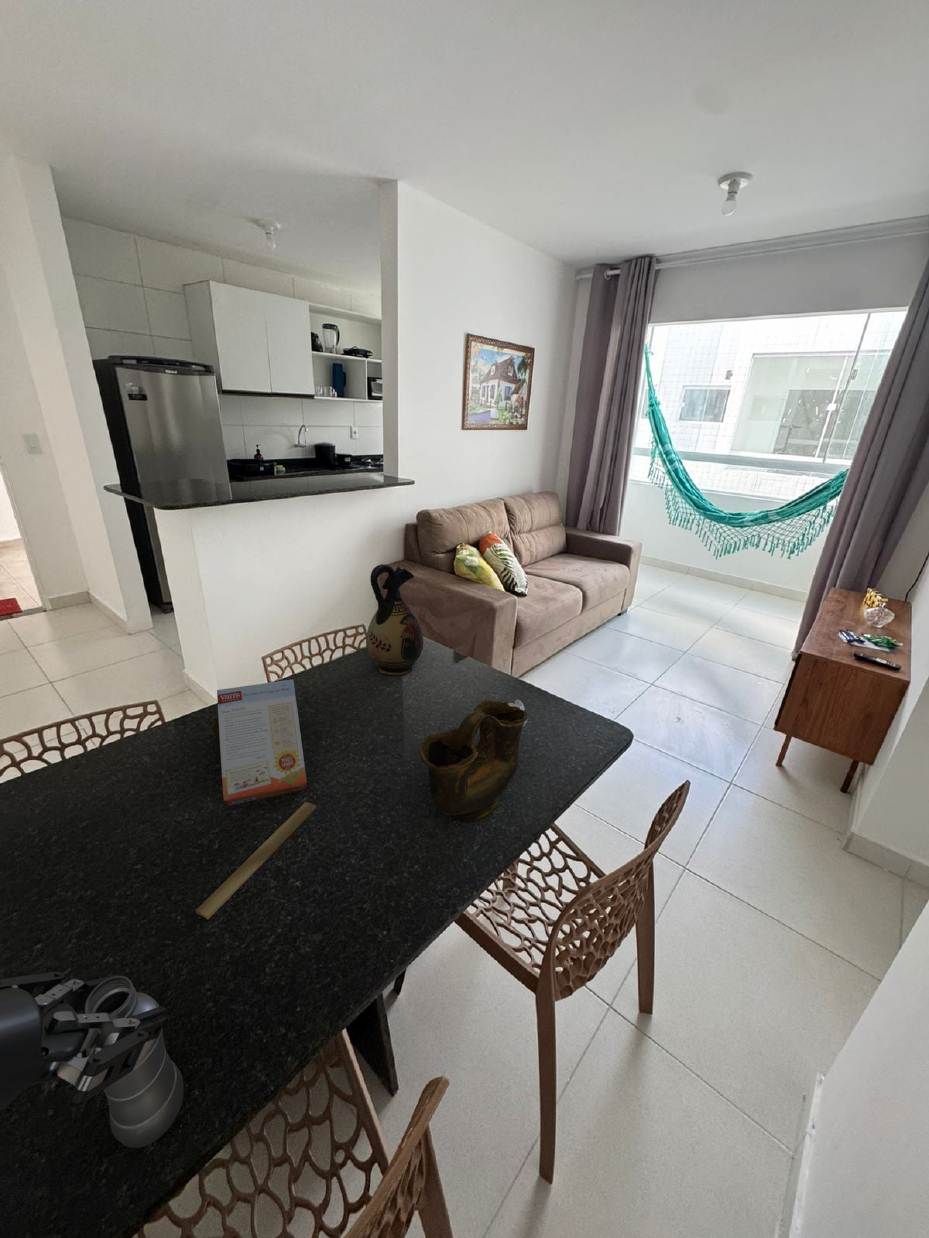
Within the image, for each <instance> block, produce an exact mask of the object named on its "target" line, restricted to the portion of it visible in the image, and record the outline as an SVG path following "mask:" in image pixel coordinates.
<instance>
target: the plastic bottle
mask: <svg viewBox="0 0 929 1238" xmlns="http://www.w3.org/2000/svg"><path fill="white" fill-rule="evenodd" d="M157 1007H160V1005H159V1003H158V1001H156V1000H155V999H154V998H153V997H152V996H150V995H149V994H147V993H144V992H140V991H139V992H138V991H137V990H136V988H135V987H134V985H133V982H132V980H131V979H130V978H129V977H127V976H124V975H117V976H114V977H111V978H109V979H107V980H105V981H103V982H102V983H100V984H99V985H98V986H97V987H96V988H95V989H94V990H93V991H92V992H91V993H90V995H89V997H88V998H87V1001H86V1004H85V1011H84V1014H89V1013H109V1014H110V1016H111V1019H118V1018H132V1016H134V1015H137V1014H140V1013H143V1012H146V1011H149V1010H151V1009H154V1008H157ZM163 1028H164V1027H163ZM163 1028H162V1030H161V1032H160V1034H159V1036H158V1037H157V1038H155V1039H153V1040H151V1041H147V1042H146V1043H145V1045H144V1047H143V1049H142V1051H141V1054H140V1056H139V1058H138V1060H137V1062H136V1065H135V1067H134V1069H133V1071H132V1072H130V1073H129V1074H127V1075H126V1076H124V1077H122V1078H121V1079H119V1080H118V1081H116V1082H115V1083H113V1084H112V1085H110V1086H109V1087H107V1088H106V1089H104V1090H103V1092H104V1093H103V1094H105V1096H106V1099H107V1105H108V1108H109V1109H108V1111H109V1125H110V1128H111V1132H112V1135H113V1136H114V1138H115V1139H116V1140H117V1141H118V1142H120V1143H121V1144H122V1145H123V1146H124V1147H127V1148H130V1149H139V1148H144V1147H146V1146H149V1145H151V1144H153V1143H154V1142H156V1141H158V1140H159V1139H160V1138H161V1137H162V1136H163V1135H164V1134H165V1133H166V1132H167V1131H168V1130H169V1129H170V1128H171V1127H172V1125H173V1123H174V1122H175V1121H176V1119H177V1117H178V1115H179V1113H180V1111H181V1108H182V1105H183V1100H184V1088H185V1087H184V1086H185V1085H184V1078H183V1077H184V1076H183V1074H182V1072H181V1070H180V1069H179V1067H178V1066H177V1064H176V1063H175V1062H174V1061H173V1060H172V1059H171V1056H170V1055H169V1053H168V1052H167V1050H166V1044H165V1041H164V1031H163ZM93 1031H94V1029H89V1033H88V1035H87V1037H86V1039H85V1041H84V1044H83V1046H82V1048H81V1050H80V1052H82V1051H83V1050H84V1049H85V1048H86V1046H87V1044H88V1042H89V1040H90V1038H91V1036H92V1034H93ZM118 1035H119V1033H112V1034H110V1035H109V1036H108V1037H107V1039H106V1041H105V1043H104V1045H111V1044H113V1043H115V1041H116V1039H117V1037H118Z"/></svg>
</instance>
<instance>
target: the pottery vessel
mask: <svg viewBox="0 0 929 1238" xmlns="http://www.w3.org/2000/svg"><path fill="white" fill-rule="evenodd" d="M508 703H509V702H508V701H504V702H502V701H494V700H491V699H489V700H488V699H487V700H486V699H485V700H483V701H482V702H479V703H478V704H477V705H476V706H475V707H474V708H473V711H472V712H470V713H469V714H467V715H466V717H465V718H464V719H463V720H462V721H461V723H460V725H459V726H458V727H455V728H452V729H450V730H448V731H444V732H440V733H434V734H431V735H427V736H425V737H424V738H423V740H422V741H421V742H420V743H418V745H417V746H418V751H417V753H418V755H419V757H420V761H421V762H422V763H423V764H424V765H425V766H426V767H427V768H428V778H429V779H428V781H429V782H428V786H429V790H430V794H431V799H433V801H434V804H435V805H436V807H437V808H438V809H439V811H440V812H441V813H443V814H444V815H446V816H451V817H452V816H453V817H455V818H457V819H459V821H461V822H465V823H467V822H468V823H469V822H478V821H481V820H483V819H485V818H487V817H488V816H490V815H492V813H493V812H494V811H495V810H497V808H498V806H499V805H500V796H501V795H502V794H503V792H504V791H505V790H506V789H507V787H508V785H509V784H510V783H511V780H512V779H513V777H514V776H515V774H516V773H517V770H518V768H519V746H520V741H521V736H522V730H523V728H524V727H523V724H524V722H525V721H526V720H527V721H528V716H529V713H528V711H527V710H525V711H524V710H521V709H520V707H515V706H509V705H508ZM478 730H479V741H478V742H477V744H476V745H475V743H474V742H475V737H476V735H477V734H478Z"/></svg>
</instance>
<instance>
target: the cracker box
mask: <svg viewBox="0 0 929 1238" xmlns="http://www.w3.org/2000/svg"><path fill="white" fill-rule="evenodd" d="M216 697H217V698H216V700H217V714H218V715H217V716H218V719H219V735H220V745H219V750H220V751H219V752H220V767H221V780H222V781H221V782H222V784H221V785H222V796H223V801H224V803H225V804H226V805H227V807H230V806H234V805H239V804H243V803H248V802H253V801H257V800H262V799H267V798H271V797H275V796H280V795H283V794H284V795H285V794H289V793H294V792H298V791H303V790H306V789H307V783H308V781H307V775H306V774H307V773H306V766H305V759H304V750H303V743H302V736H301V727H300V719H299V712H298V704H297V698H296V690H295V682H294V679H285V680H278V681H277V680H276V681H270V682H264V683H258V684H249V685H243V686H236V687H229V688H221V689H216Z"/></svg>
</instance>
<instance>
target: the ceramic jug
mask: <svg viewBox="0 0 929 1238" xmlns="http://www.w3.org/2000/svg"><path fill="white" fill-rule="evenodd" d="M384 573H387V577H386V578H385V580H384V582H383V584H382V586H381V588H382V589H383V590H386V594H385V597H384V596H383V594H382V591H381V588H380V584H379V577H380V576H381V575H383V574H384ZM369 577H370V586H371V588H372V591H373V594H374V597H375V601H376V602H377V610H376V611H375V613H374V614H373V616H372V618H371V620H370V622H369V625H368V628H367V630H366V631H367V632H366V637H365V647H366V652H367V655H368V656H369V658H370V660H371V661H372V662H373V663H374V664H376V666H377V667H378V671H379V673H382V674H385V675H388V676H403V675H407V674H410V673H412V672H413V668H414V667H413V666H414V665H415V664H416V662H417V661H418V660H419V658H420V657H421V655H422V652H423V649H424V635H423V631H422V627H421V624H420V622H419V620H418V617H416V615H415V613H414V612H413V611H412V609H411V608H410V606H409V605H408V604H407V602H405V600H404V598H402V596H401V591H400V588H401V587H402V586H403V585H404V584H405V583H406V582H408V581H411V580H412V579H414V577H415V576H414V574H413V573H412V572H411V571H409V569H406V568H401V567H400V566H396V569H394V568H393V567H392V566H391V565H388V564H383V563H381V564H378V565H375V567H373V569H372V571H371V572H370V575H369Z"/></svg>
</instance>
